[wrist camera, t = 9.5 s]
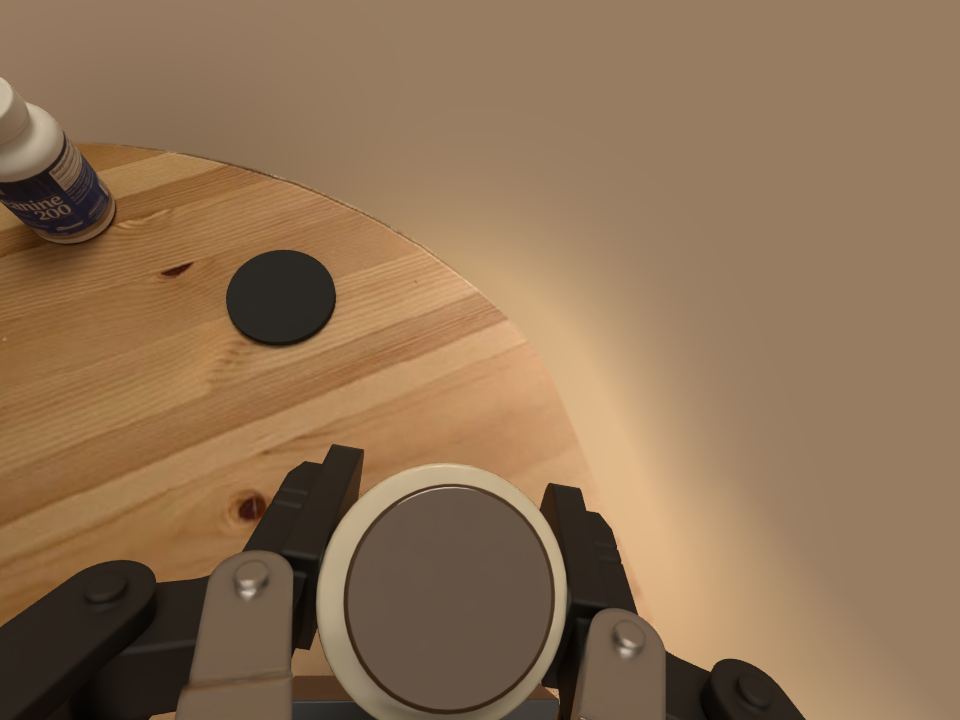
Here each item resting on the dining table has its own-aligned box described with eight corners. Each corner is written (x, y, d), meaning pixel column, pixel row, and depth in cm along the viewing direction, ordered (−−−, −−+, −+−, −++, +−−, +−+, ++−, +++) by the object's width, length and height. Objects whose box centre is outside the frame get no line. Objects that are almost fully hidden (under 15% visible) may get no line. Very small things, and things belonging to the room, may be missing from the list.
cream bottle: (326, 592, 17) (232, 618, 8) (420, 482, 18) (436, 392, 9) (434, 691, 16) (474, 850, 7) (521, 569, 18) (647, 567, 9)
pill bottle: (18, 241, 36) (-112, 130, 27) (47, 176, 38) (-65, 54, 29) (104, 251, 36) (4, 146, 27) (128, 187, 38) (42, 69, 29)
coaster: (213, 276, 37) (210, 272, 36) (311, 240, 39) (310, 235, 38) (251, 362, 35) (248, 359, 34) (352, 320, 37) (351, 316, 36)
